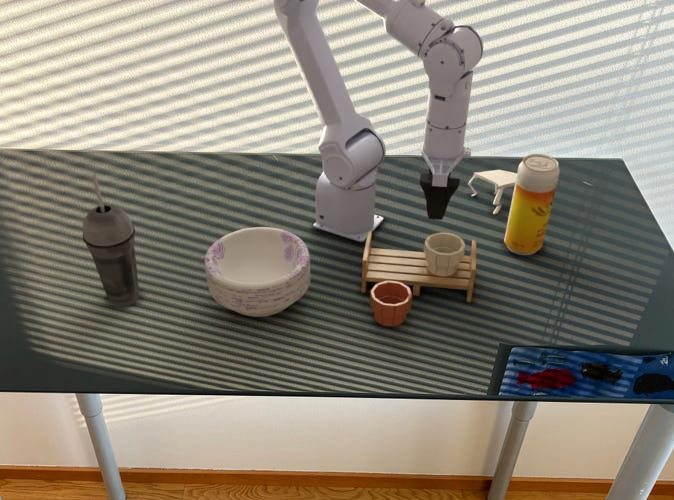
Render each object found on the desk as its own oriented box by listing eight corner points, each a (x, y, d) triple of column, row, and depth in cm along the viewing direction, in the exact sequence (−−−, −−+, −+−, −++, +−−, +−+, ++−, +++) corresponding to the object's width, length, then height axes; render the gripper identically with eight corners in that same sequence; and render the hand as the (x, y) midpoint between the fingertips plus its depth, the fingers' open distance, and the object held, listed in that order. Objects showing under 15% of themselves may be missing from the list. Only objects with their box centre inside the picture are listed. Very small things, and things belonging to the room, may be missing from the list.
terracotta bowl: (362, 322, 111) (363, 298, 107) (381, 300, 114) (382, 276, 111) (398, 335, 108) (400, 310, 105) (415, 312, 112) (418, 287, 109)
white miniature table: (474, 217, 130) (478, 192, 127) (465, 191, 136) (469, 166, 133) (544, 215, 131) (549, 190, 127) (532, 190, 137) (537, 165, 133)
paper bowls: (197, 281, 118) (190, 238, 112) (288, 258, 122) (286, 215, 117) (228, 342, 108) (222, 298, 102) (326, 314, 112) (326, 270, 106)
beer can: (540, 259, 121) (561, 174, 111) (501, 254, 122) (518, 169, 112) (541, 238, 126) (561, 155, 116) (504, 233, 127) (520, 150, 117)
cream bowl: (416, 273, 114) (418, 248, 111) (432, 252, 118) (435, 228, 115) (452, 284, 112) (455, 259, 109) (467, 263, 116) (470, 238, 113)
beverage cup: (107, 318, 112) (76, 199, 98) (93, 291, 116) (62, 173, 103) (154, 303, 114) (131, 185, 100) (139, 277, 119) (115, 161, 105)
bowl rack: (366, 263, 121) (368, 231, 117) (471, 271, 119) (476, 239, 115) (361, 292, 116) (362, 260, 111) (470, 302, 114) (476, 269, 110)
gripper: (474, 146, 101) (461, 233, 110) (475, 99, 111) (464, 181, 121) (421, 143, 102) (413, 229, 111) (427, 96, 112) (419, 178, 122)
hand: (436, 204), depth 116 cm, fingers open, 7 cm apart
